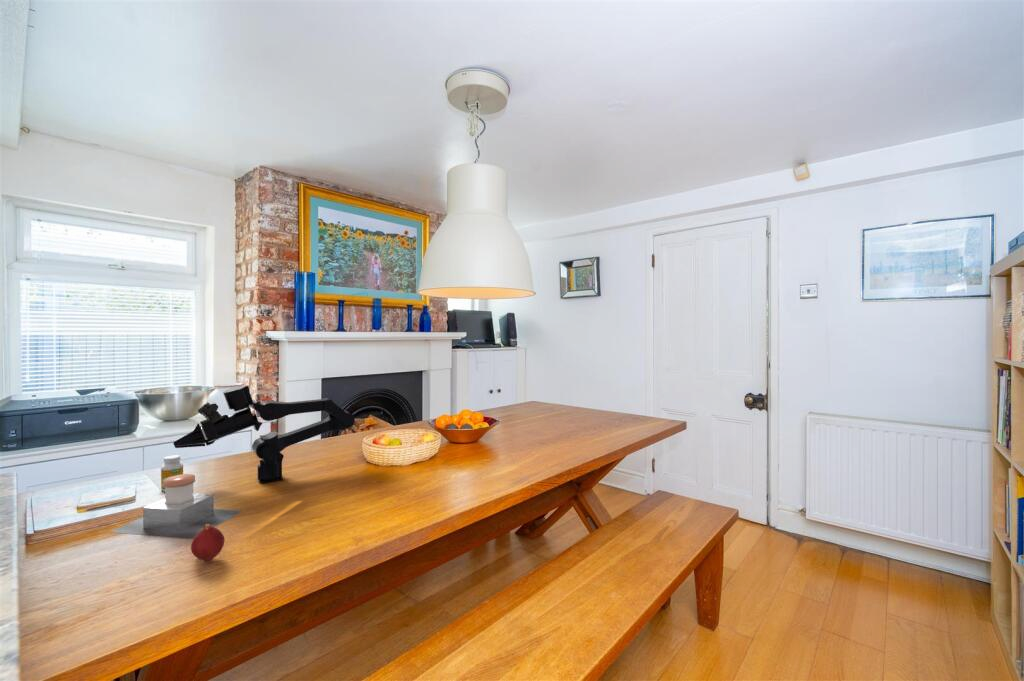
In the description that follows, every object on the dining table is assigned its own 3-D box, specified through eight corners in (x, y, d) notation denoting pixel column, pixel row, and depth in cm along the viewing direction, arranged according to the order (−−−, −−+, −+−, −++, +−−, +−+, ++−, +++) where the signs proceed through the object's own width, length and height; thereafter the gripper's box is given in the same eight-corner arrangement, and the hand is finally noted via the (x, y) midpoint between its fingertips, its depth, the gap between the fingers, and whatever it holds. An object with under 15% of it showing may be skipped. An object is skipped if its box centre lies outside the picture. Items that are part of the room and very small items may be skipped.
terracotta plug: (179, 499, 116) (179, 473, 115) (201, 500, 115) (201, 474, 115) (156, 509, 109) (156, 481, 109) (179, 510, 108) (179, 483, 108)
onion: (202, 554, 98) (201, 518, 98) (229, 553, 98) (229, 517, 98) (185, 568, 92) (184, 530, 92) (214, 567, 93) (214, 529, 92)
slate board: (169, 508, 122) (169, 505, 122) (243, 514, 119) (243, 510, 119) (108, 535, 106) (108, 531, 106) (192, 543, 103) (192, 539, 103)
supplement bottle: (171, 492, 134) (171, 460, 133) (156, 490, 135) (156, 458, 134) (187, 486, 139) (187, 455, 138) (173, 484, 140) (173, 453, 140)
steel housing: (179, 511, 118) (179, 492, 118) (213, 513, 116) (213, 494, 116) (143, 528, 108) (142, 507, 108) (180, 531, 107) (179, 510, 106)
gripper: (222, 403, 146) (165, 423, 137) (226, 394, 131) (161, 415, 122) (235, 434, 146) (179, 456, 136) (240, 429, 131) (177, 453, 122)
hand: (174, 445), depth 129 cm, fingers open, 9 cm apart
